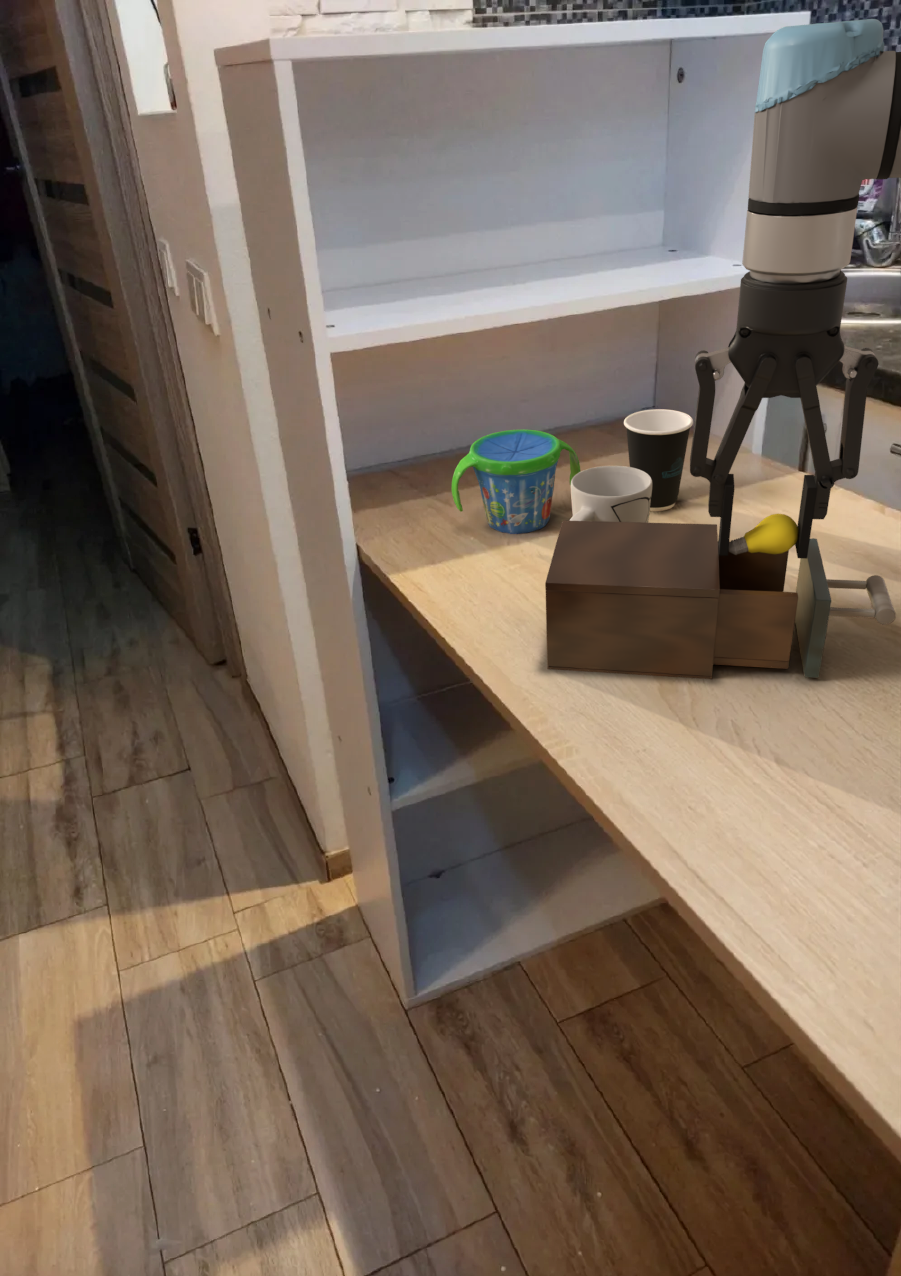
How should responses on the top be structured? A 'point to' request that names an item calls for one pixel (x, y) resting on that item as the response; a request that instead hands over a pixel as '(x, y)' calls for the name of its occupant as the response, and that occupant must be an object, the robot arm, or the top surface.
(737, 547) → the light bulb
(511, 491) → the snack cup
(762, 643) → the drawer
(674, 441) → the dixie cup
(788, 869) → the top surface
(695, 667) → the cabinet
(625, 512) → the mug
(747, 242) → the robot arm
